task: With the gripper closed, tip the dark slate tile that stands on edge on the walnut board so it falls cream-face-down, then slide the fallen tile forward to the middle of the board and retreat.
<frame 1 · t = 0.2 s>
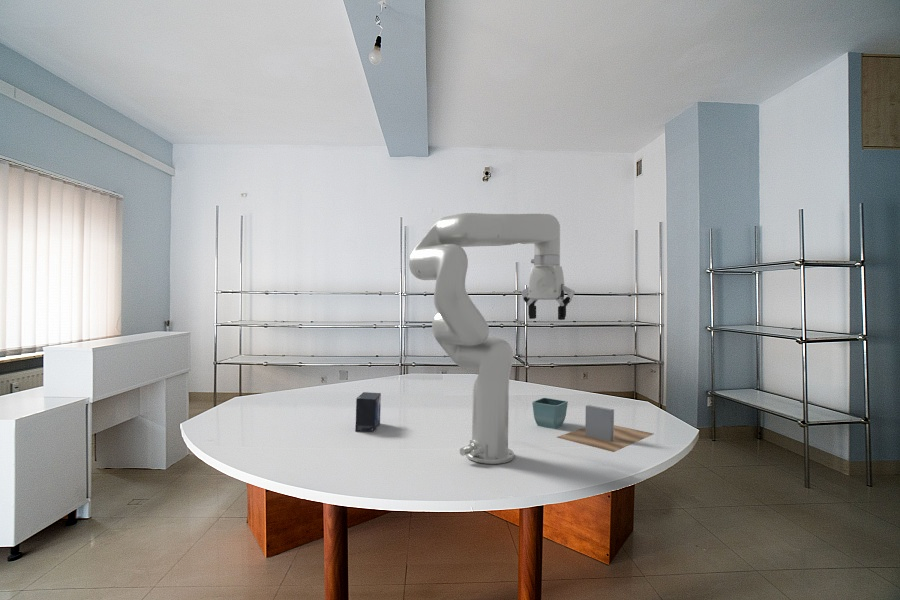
hand: (546, 319, 140), 36 cm above the table, tool pointing down, fingers open, 9 cm apart
board: (605, 439, 141), on the table
tile: (599, 437, 138), point 1 cm above the table, touching board
flower pot: (549, 429, 152), on the table
small box: (368, 428, 151), on the table
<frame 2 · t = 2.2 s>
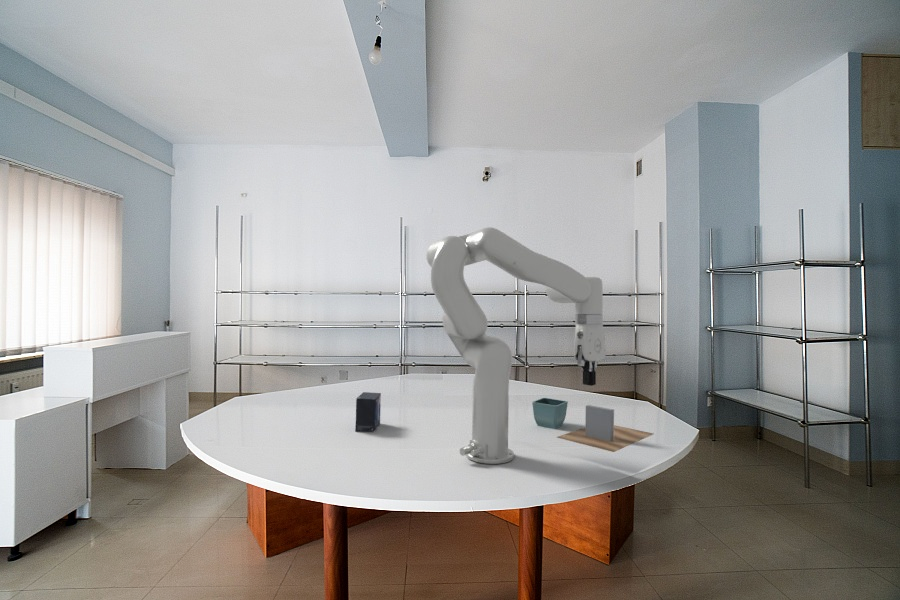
hand: (589, 384, 133), 18 cm above the table, tool pointing down, fingers closed
nothing on the table moved.
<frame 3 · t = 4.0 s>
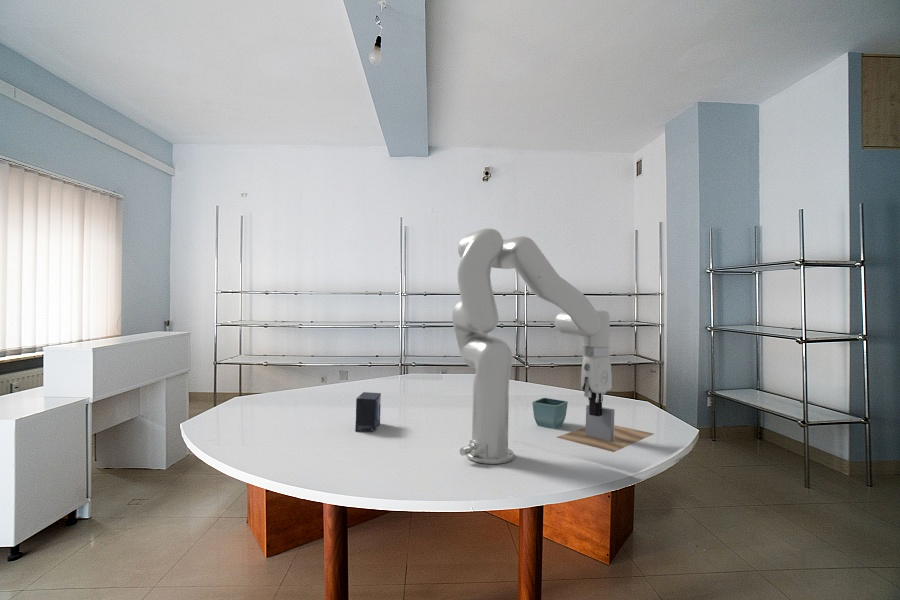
hand: (595, 415, 136), 8 cm above the table, tool pointing down, fingers closed
tile: (599, 437, 138), point 1 cm above the table, touching board, gripper
everything else where it was.
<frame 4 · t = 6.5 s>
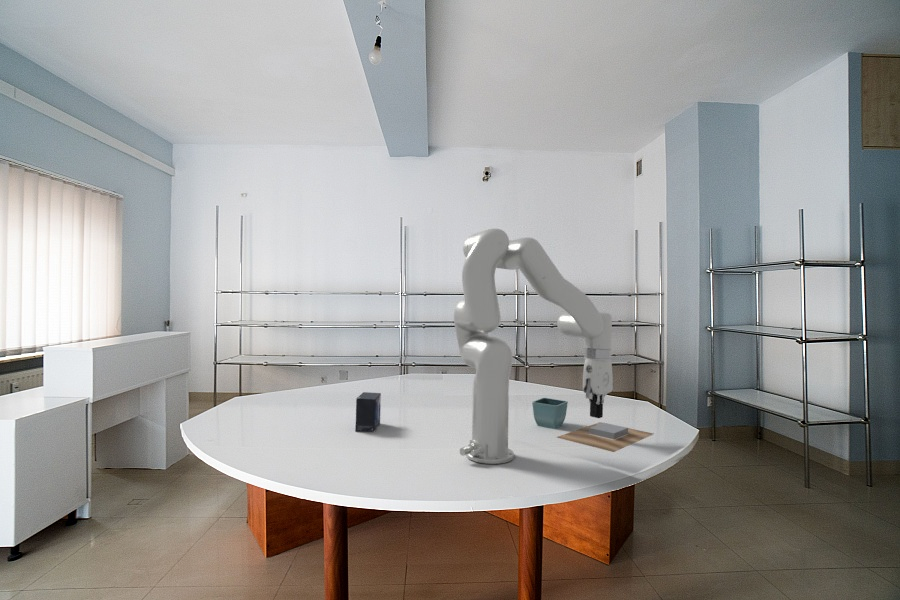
hand: (596, 416, 137), 8 cm above the table, tool pointing down, fingers closed
tile: (601, 433, 139), point 2 cm above the table, tilted 90°, touching board
everything else where it was.
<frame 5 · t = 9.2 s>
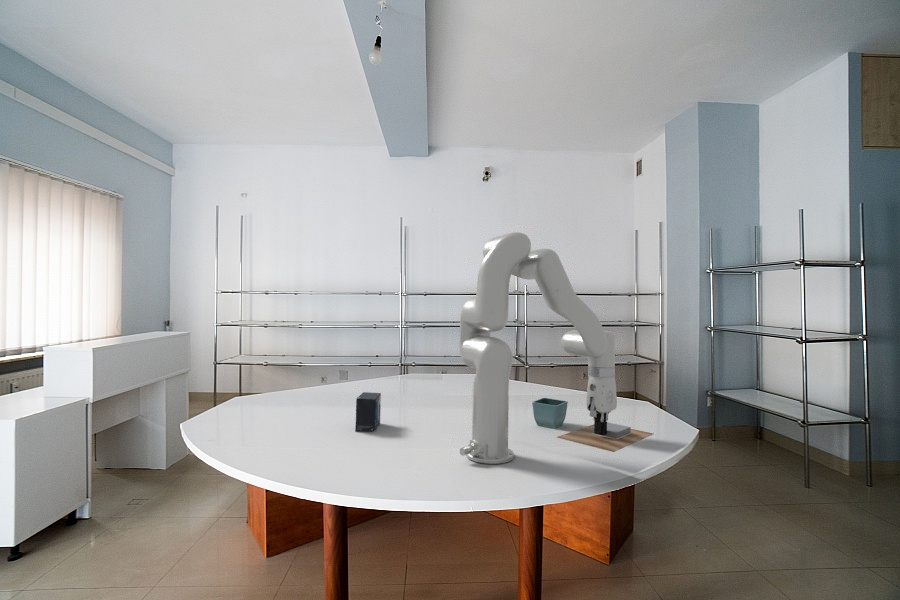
hand: (600, 434, 139), 2 cm above the table, tool pointing down, fingers closed
tile: (603, 433, 140), point 2 cm above the table, tilted 90°, touching board
everything else where it was.
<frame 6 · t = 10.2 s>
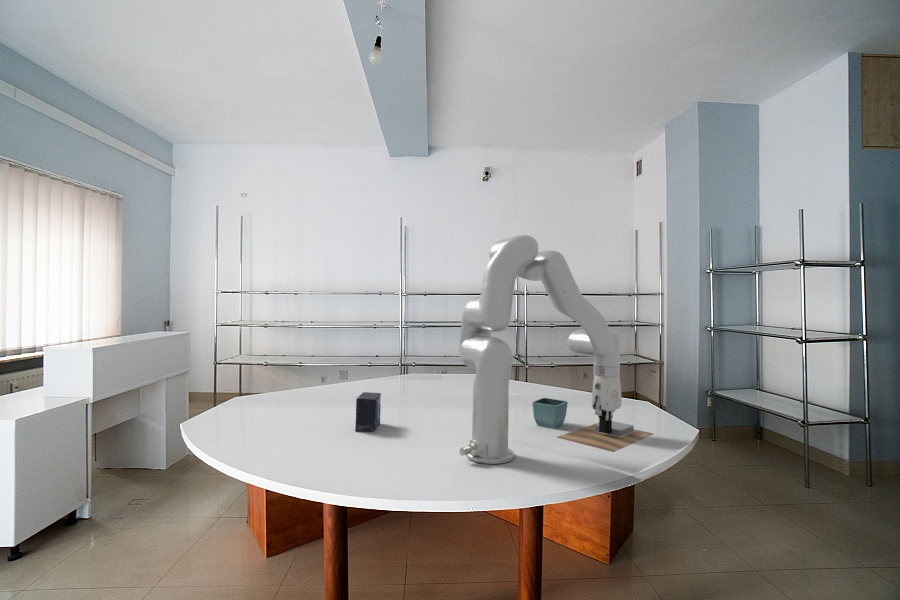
hand: (605, 432, 141), 2 cm above the table, tool pointing down, fingers closed
tile: (607, 431, 142), point 2 cm above the table, tilted 90°, touching board, gripper
everything else where it was.
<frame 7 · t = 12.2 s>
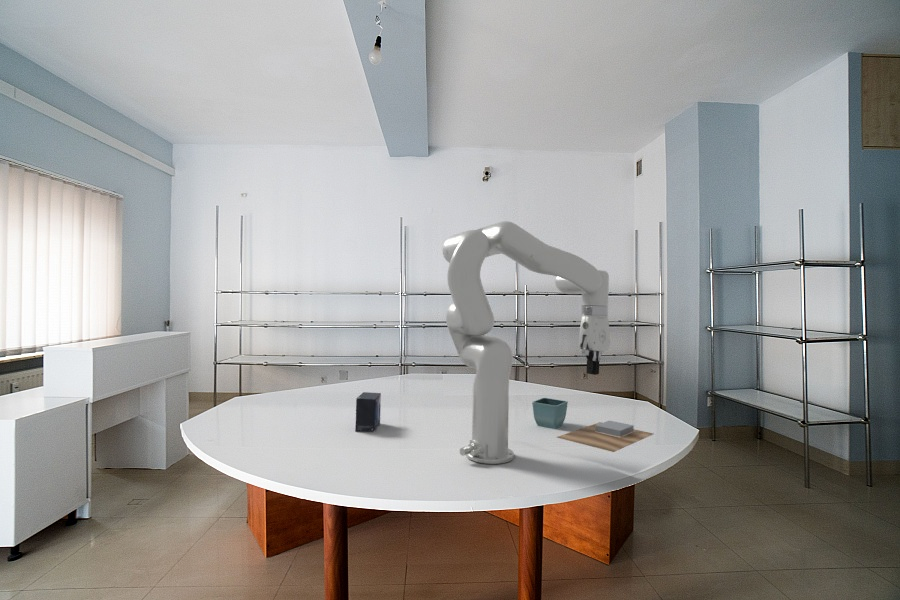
hand: (592, 373, 139), 20 cm above the table, tool pointing down, fingers closed
tile: (607, 431, 142), point 2 cm above the table, tilted 90°, touching board
everything else where it was.
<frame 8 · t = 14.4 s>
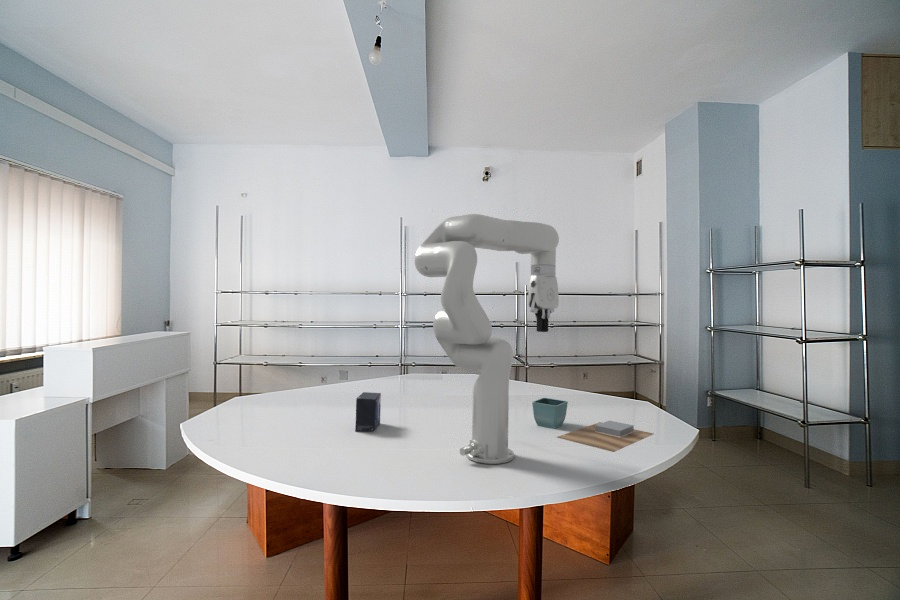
hand: (542, 331, 144), 32 cm above the table, tool pointing down, fingers closed
nothing on the table moved.
at the end: tile tilted 90°; tile inside the target area on the board (0.1 cm from its centre), point 2.2 cm above the board's base; tile moved 5.2 cm from its start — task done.
